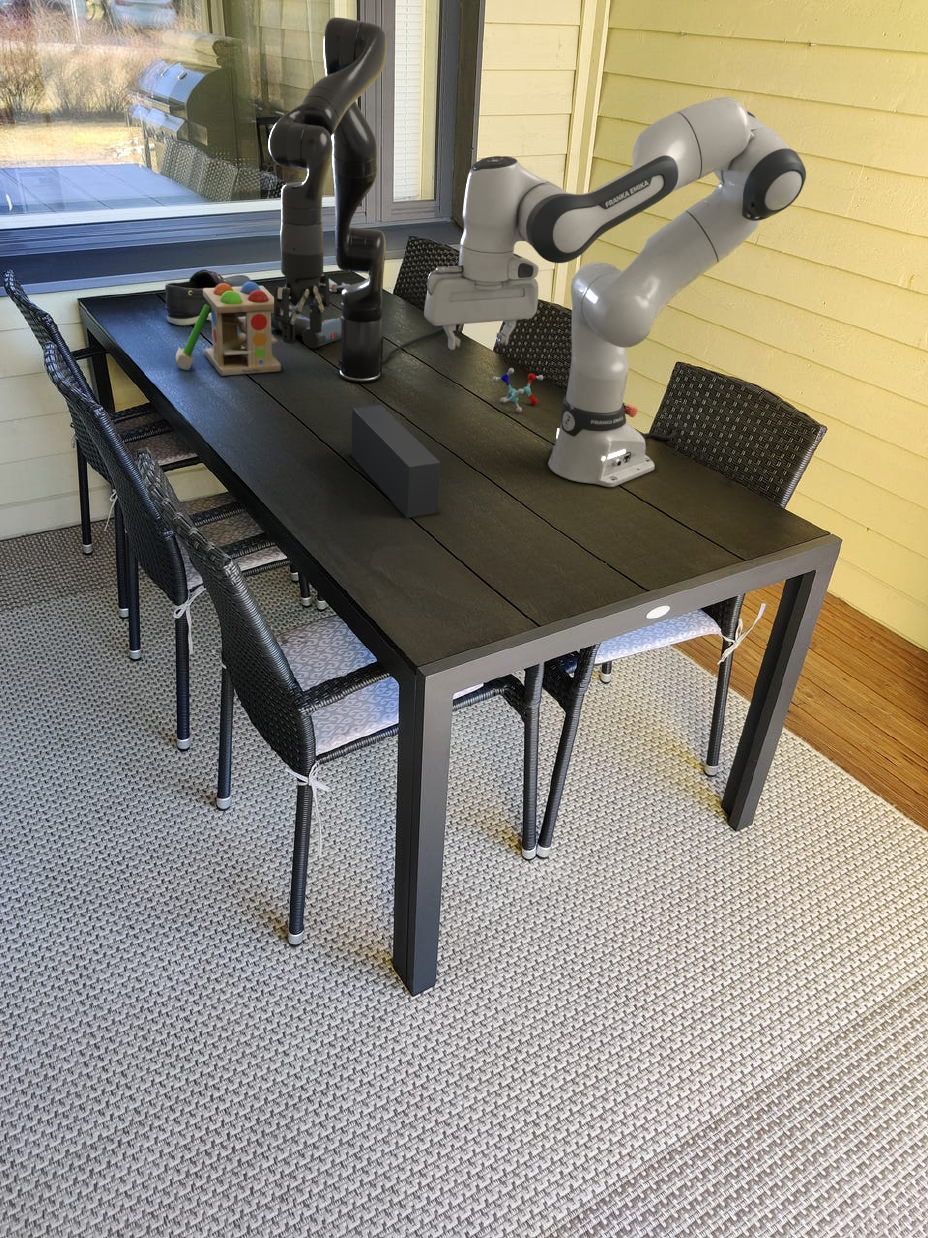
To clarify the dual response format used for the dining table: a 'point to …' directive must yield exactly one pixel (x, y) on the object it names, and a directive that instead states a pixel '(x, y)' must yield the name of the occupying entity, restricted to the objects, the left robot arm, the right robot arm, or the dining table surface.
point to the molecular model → (513, 392)
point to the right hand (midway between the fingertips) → (478, 346)
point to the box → (395, 461)
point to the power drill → (312, 339)
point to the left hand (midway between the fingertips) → (302, 337)
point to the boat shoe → (194, 295)
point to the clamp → (334, 286)
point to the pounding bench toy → (235, 331)
